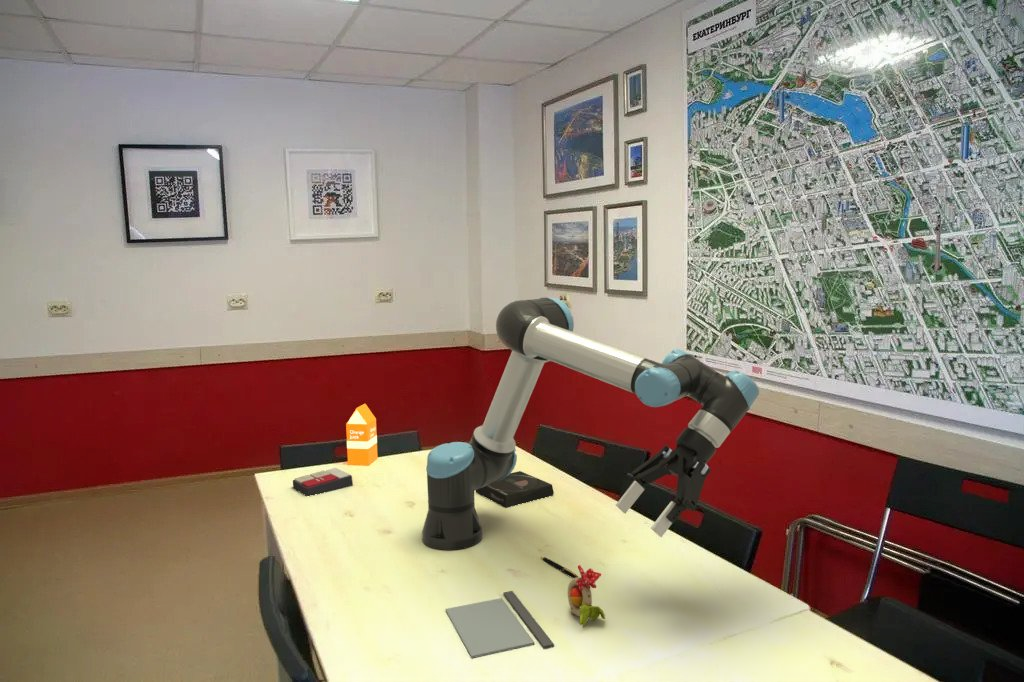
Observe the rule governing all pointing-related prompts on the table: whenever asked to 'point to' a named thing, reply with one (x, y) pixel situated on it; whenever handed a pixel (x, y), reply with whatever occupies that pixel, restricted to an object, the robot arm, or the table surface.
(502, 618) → the mat
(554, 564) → the fountain pen
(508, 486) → the black flat box
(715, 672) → the table surface
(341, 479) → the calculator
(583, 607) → the bird rattle
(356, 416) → the orange juice
